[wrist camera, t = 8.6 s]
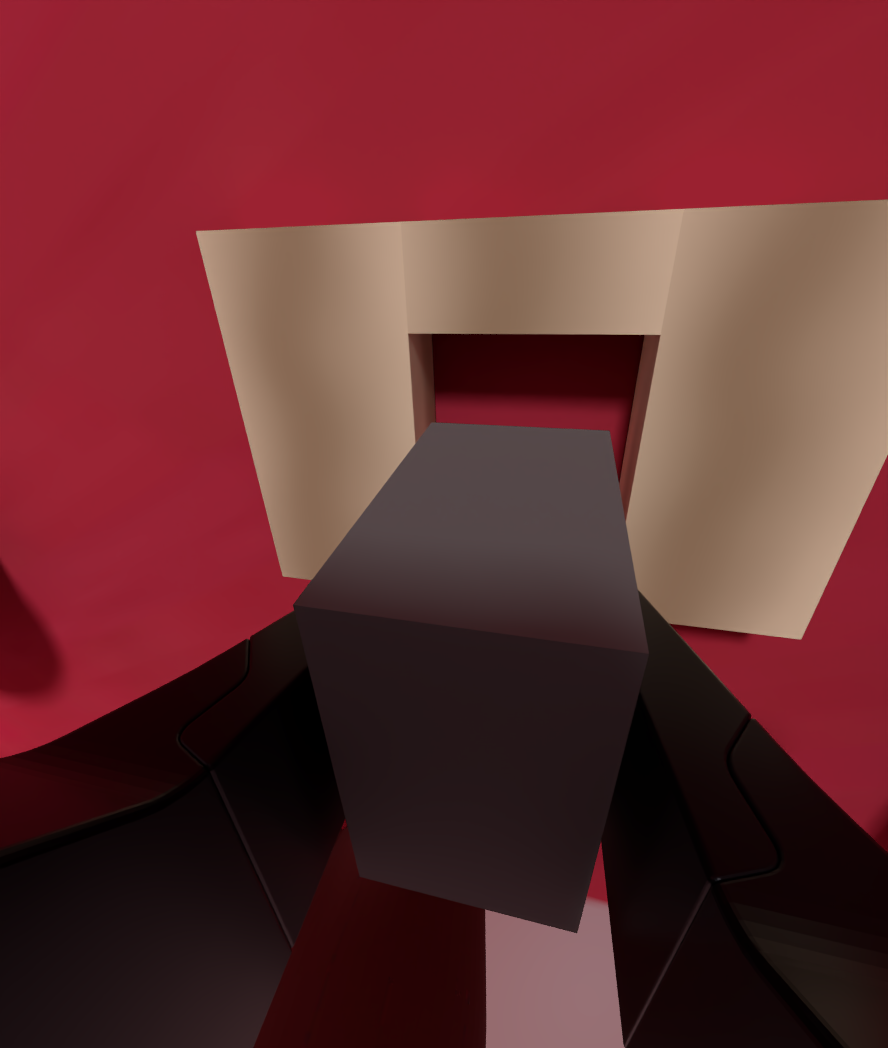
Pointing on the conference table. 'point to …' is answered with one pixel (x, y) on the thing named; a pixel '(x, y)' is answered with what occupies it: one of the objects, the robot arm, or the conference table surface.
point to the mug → (380, 968)
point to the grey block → (481, 667)
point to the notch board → (588, 308)
